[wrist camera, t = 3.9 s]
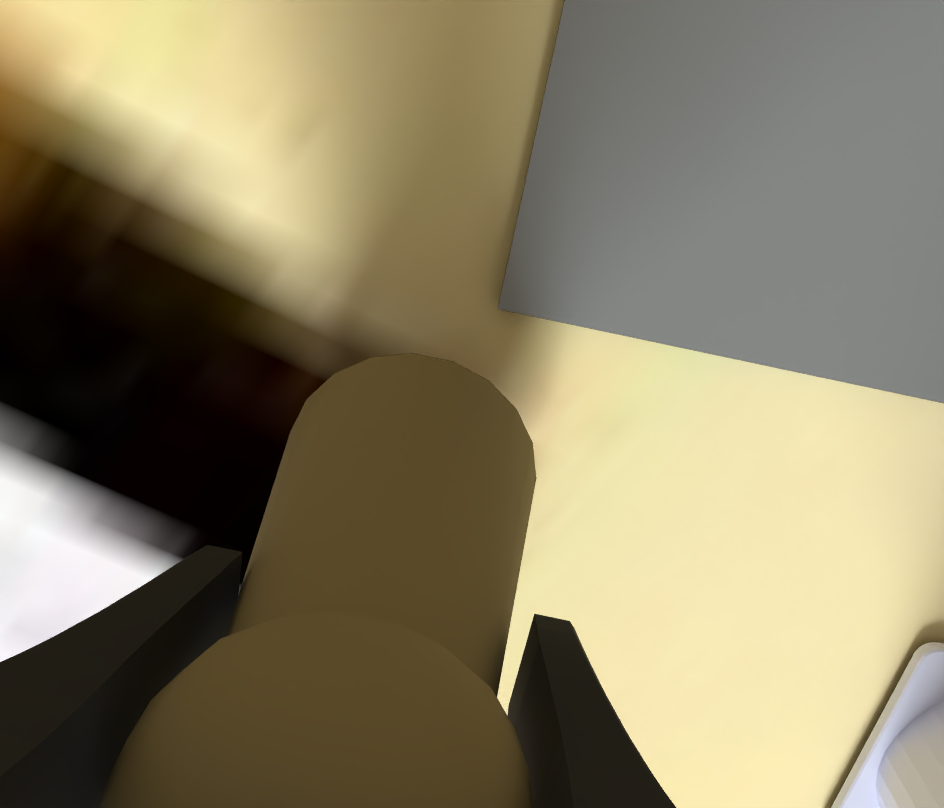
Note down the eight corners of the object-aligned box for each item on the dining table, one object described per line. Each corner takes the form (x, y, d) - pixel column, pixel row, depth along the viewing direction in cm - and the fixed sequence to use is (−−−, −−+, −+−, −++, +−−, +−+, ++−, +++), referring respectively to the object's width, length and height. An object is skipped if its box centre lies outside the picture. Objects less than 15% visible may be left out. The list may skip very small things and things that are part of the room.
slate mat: (1229, -160, 14) (1253, -170, 14) (956, 401, 18) (968, 408, 18) (627, -291, 14) (631, -306, 13) (498, 304, 18) (498, 308, 18)
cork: (385, 612, 19) (253, 1190, 9) (235, 438, 17) (-146, 915, 7) (583, 504, 18) (695, 1050, 7) (442, 302, 16) (334, 659, 6)
